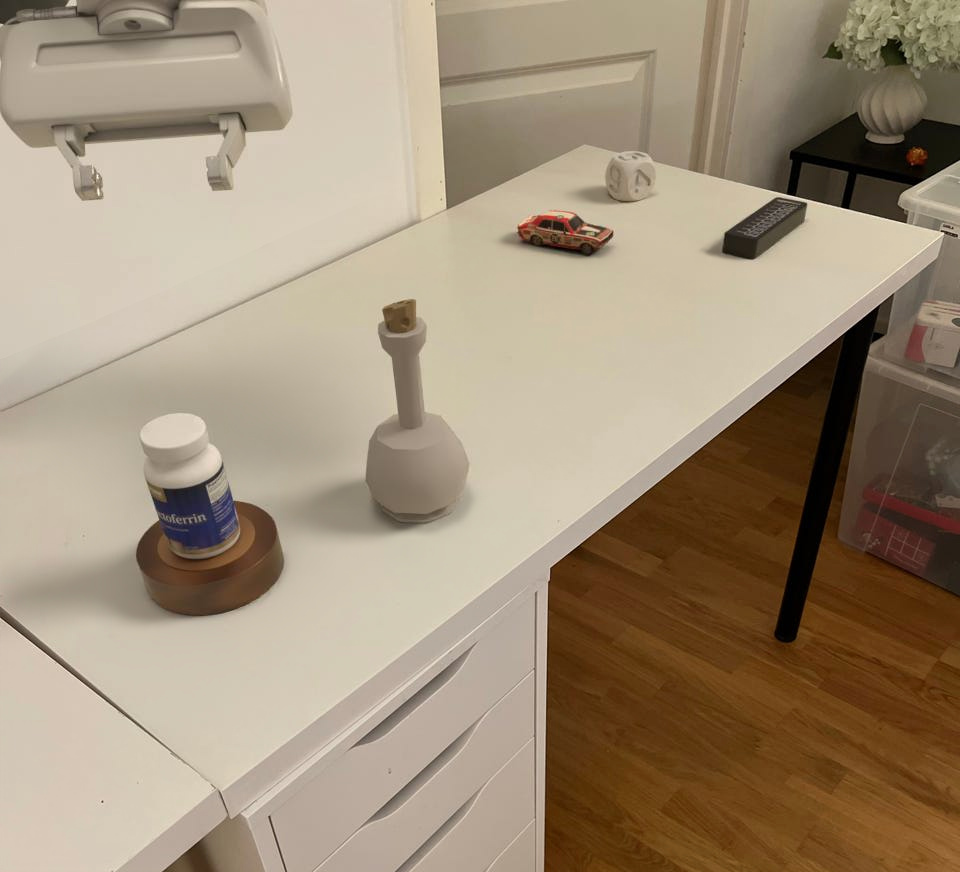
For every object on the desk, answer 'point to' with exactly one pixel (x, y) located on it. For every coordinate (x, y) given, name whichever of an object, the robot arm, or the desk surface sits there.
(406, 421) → the potion bottle
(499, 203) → the desk surface
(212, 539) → the pill bottle
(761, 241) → the remote control
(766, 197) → the desk surface
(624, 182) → the die
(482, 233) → the desk surface
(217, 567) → the brown wooden disc
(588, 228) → the race car
